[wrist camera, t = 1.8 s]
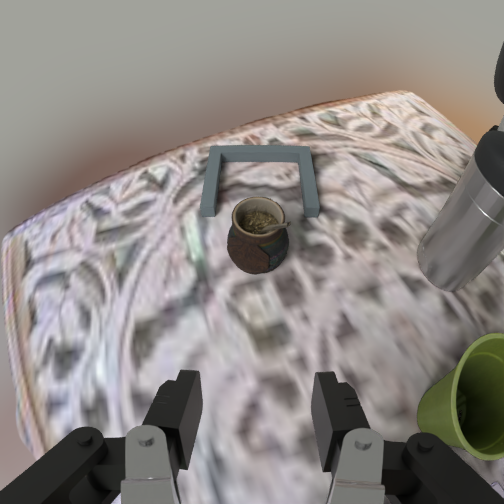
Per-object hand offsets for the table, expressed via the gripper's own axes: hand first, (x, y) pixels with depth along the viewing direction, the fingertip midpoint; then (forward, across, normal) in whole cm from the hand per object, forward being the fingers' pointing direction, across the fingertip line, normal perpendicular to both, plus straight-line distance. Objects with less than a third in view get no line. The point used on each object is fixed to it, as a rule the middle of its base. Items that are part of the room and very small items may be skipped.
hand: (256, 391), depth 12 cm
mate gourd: (+28, 0, +1) cm, 28 cm away
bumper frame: (+36, 0, -8) cm, 37 cm away
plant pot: (+13, -21, +16) cm, 29 cm away
